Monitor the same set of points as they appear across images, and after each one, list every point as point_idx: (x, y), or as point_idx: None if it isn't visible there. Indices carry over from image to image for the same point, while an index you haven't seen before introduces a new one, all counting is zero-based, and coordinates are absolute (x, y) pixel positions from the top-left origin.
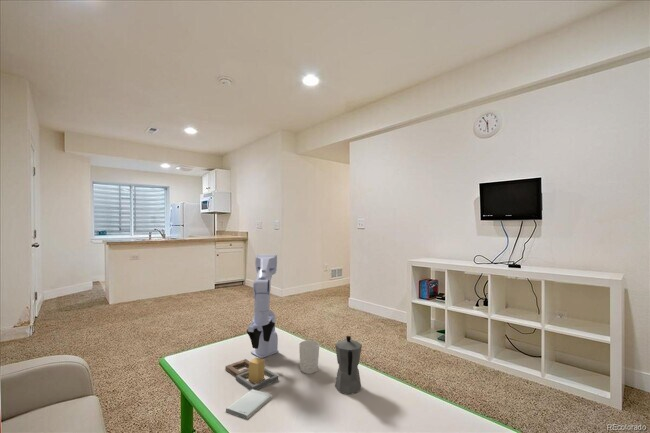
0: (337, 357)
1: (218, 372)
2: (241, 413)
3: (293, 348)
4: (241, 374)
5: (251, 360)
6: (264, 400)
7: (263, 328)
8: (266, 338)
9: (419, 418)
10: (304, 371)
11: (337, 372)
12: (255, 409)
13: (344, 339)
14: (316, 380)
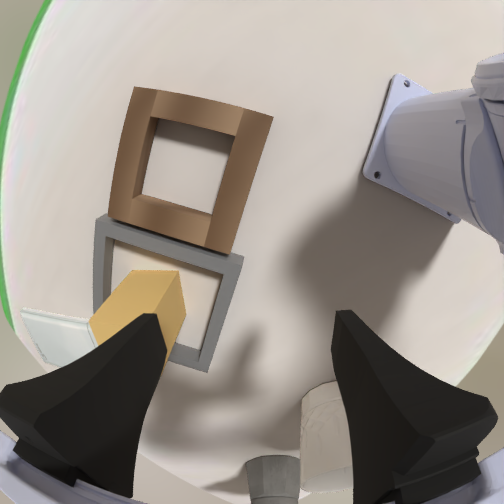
0: None
1: (112, 84)
2: (38, 351)
3: (493, 261)
4: (116, 234)
5: (104, 325)
6: None
7: (381, 405)
8: (338, 354)
9: (240, 500)
10: (301, 405)
11: (263, 486)
12: None
13: None
14: (272, 430)
